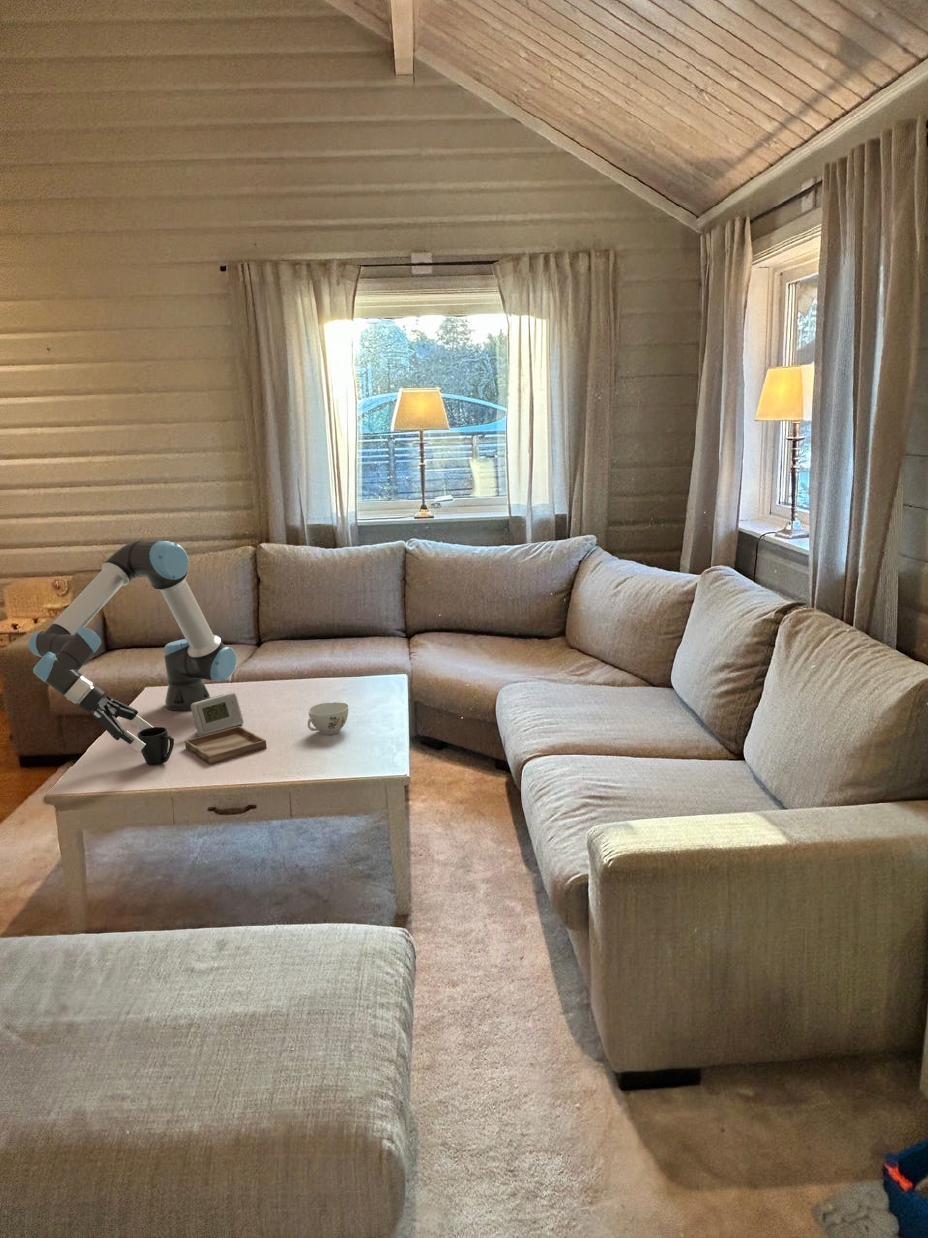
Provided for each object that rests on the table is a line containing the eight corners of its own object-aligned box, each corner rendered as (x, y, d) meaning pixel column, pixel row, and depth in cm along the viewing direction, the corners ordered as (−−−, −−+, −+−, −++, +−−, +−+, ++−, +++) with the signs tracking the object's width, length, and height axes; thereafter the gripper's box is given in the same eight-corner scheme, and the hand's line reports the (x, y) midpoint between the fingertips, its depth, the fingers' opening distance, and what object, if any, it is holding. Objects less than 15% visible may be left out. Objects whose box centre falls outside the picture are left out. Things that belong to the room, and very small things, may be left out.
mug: (163, 771, 254) (159, 740, 252) (135, 764, 260) (131, 734, 258) (185, 761, 261) (182, 730, 258) (158, 755, 267) (154, 725, 265)
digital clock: (197, 739, 279) (194, 706, 276) (189, 731, 286) (186, 699, 284) (248, 727, 287) (244, 696, 285) (239, 720, 295) (235, 689, 292)
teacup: (332, 722, 288) (330, 698, 286) (358, 729, 280) (356, 705, 278) (295, 736, 277) (293, 711, 275) (322, 744, 269) (320, 719, 267)
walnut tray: (185, 748, 271) (184, 741, 270) (240, 733, 282) (239, 726, 281) (210, 764, 257) (209, 756, 257) (266, 748, 268) (265, 740, 268)
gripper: (88, 691, 264) (147, 734, 270) (65, 718, 240) (129, 765, 246) (105, 672, 264) (163, 716, 269) (82, 698, 240) (147, 745, 245)
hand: (147, 739), depth 257 cm, fingers open, 13 cm apart
